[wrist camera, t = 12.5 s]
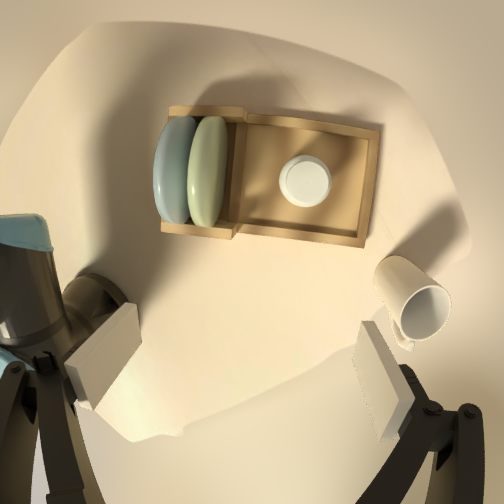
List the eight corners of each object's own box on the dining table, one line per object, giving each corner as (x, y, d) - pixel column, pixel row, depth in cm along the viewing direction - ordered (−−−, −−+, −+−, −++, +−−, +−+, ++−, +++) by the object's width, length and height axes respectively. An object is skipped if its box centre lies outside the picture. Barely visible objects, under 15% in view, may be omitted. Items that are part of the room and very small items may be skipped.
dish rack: (178, 222, 40) (160, 231, 34) (186, 114, 35) (169, 106, 30) (360, 244, 38) (372, 257, 32) (374, 133, 33) (390, 128, 28)
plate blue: (189, 214, 38) (150, 233, 27) (197, 124, 35) (159, 106, 23) (198, 215, 38) (162, 235, 26) (206, 124, 35) (171, 106, 23)
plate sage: (214, 216, 38) (184, 237, 26) (222, 124, 34) (194, 105, 23) (223, 217, 38) (196, 239, 26) (232, 125, 34) (207, 105, 23)
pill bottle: (271, 182, 36) (266, 186, 26) (297, 149, 34) (302, 141, 25) (305, 209, 36) (312, 223, 27) (331, 176, 35) (347, 178, 25)
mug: (375, 251, 38) (407, 283, 26) (417, 254, 37) (458, 285, 25) (363, 316, 40) (384, 365, 29) (402, 317, 40) (432, 362, 28)
